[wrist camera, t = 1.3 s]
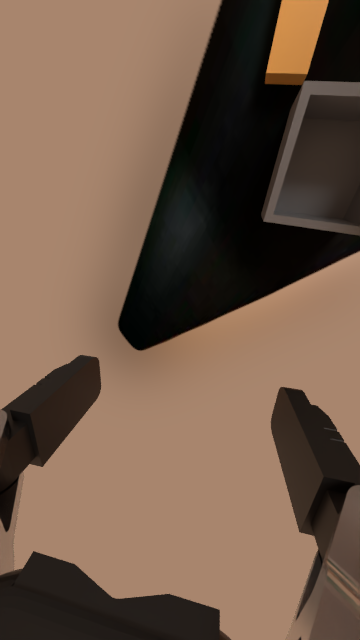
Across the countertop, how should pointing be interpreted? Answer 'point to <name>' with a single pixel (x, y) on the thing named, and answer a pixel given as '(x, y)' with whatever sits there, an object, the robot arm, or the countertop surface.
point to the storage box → (319, 161)
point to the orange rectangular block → (295, 41)
